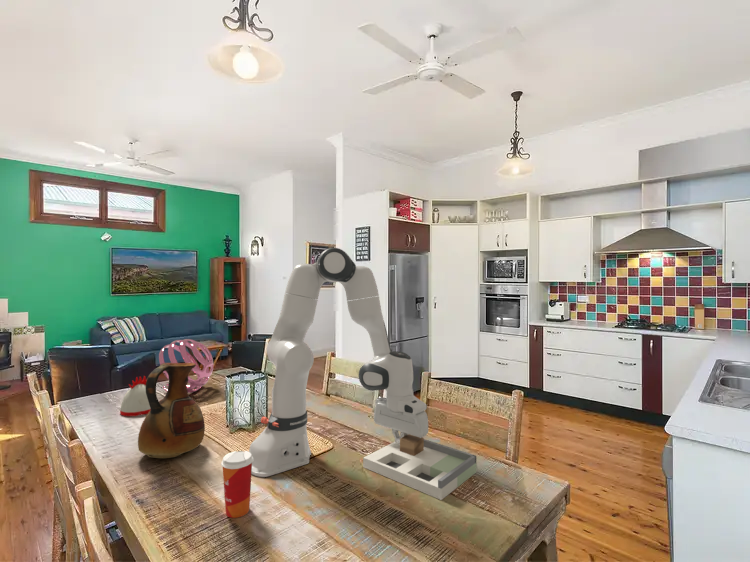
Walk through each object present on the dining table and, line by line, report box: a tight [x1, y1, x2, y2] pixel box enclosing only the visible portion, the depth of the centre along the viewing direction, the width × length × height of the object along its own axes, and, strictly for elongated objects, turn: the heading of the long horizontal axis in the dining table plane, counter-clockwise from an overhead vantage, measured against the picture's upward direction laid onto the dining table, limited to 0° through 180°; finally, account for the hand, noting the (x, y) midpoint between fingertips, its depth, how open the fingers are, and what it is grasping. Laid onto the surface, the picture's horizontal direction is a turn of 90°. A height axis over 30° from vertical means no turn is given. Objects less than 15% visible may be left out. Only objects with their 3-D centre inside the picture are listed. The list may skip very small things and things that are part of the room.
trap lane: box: [362, 432, 477, 501], centre depth 123 cm, size 20×28×5 cm
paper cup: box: [220, 450, 253, 519], centre depth 101 cm, size 8×8×14 cm
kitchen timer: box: [119, 375, 151, 417], centre depth 177 cm, size 14×14×15 cm
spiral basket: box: [158, 338, 214, 394], centre depth 206 cm, size 28×28×27 cm
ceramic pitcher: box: [137, 362, 206, 459], centre depth 136 cm, size 20×20×30 cm
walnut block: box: [400, 434, 425, 456], centre depth 130 cm, size 6×6×4 cm
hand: (399, 443), depth 133 cm, fingers closed
